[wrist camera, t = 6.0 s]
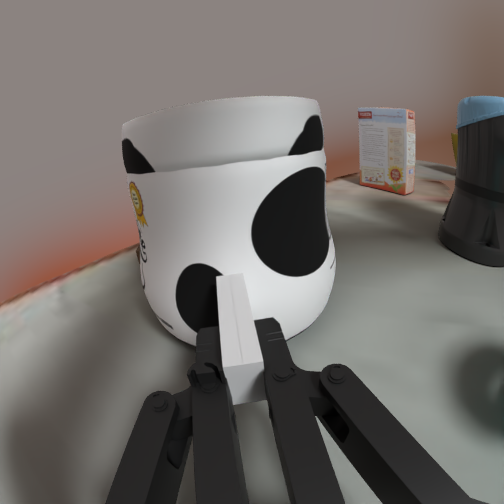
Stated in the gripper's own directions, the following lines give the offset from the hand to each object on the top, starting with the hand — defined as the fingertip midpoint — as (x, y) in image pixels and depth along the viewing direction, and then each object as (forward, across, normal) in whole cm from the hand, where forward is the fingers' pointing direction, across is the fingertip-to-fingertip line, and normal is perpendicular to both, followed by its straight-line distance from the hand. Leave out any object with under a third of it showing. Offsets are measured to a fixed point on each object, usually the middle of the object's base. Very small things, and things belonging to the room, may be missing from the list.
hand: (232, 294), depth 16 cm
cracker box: (+45, +42, -8) cm, 62 cm away
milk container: (+9, +1, -8) cm, 12 cm away
